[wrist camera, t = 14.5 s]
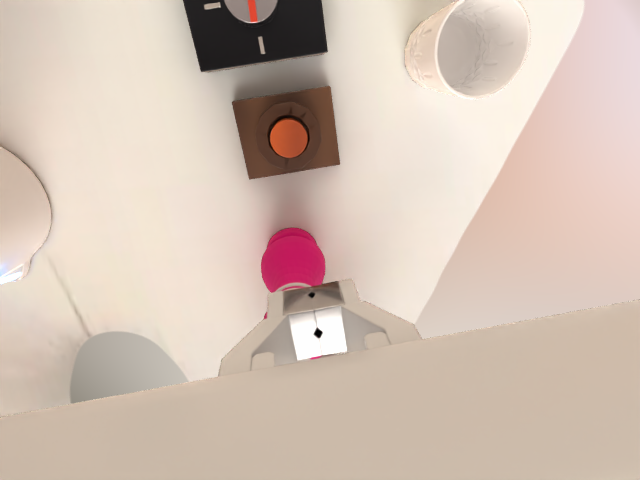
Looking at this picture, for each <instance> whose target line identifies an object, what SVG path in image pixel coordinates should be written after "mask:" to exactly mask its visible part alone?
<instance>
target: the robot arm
mask: <svg viewBox="0 0 640 480" xmlns="http://www.w3.org/2000/svg"><path fill="white" fill-rule="evenodd" d="M50 227H51V208H50V204H49V200H48V197H47V195H46V192H45V190H44V188H43V186H42V185H41V183H40V182H39V180H38V179H37V177H36V176H35V175H34V173H33V172H32V171H31V170H30V169H29V168H28V167H27V166H26V165H25V164H24V163H23V162H22V161H21V160H20V159H19V158H17V157H16V156H15V155H13V154H12V153H10V152H9V151H7V150H6V149H4V148H2V147H1V146H0V284H2V283H5V282H15V281H18V280H20V279H22V278H24V277H25V276H26V275H27V273H28V270H29V266H30V261H31V258H32V256H33V255H34V253H35V252H36V251H37V250H38V249H39V248H40V247H41V246H42V244H43V243H44V242H45V240H46V238H47V236H48V234H49V231H50ZM346 351H347V353H345V354H340V355H334V356H329V357H323V358H318V359H312V360H307V361H302V362H298V360H302V359H307V358H311V357H316V356H321V355H327V354H333V353H340V352H346ZM0 480H640V299H639V300H633V301H628V302H622V303H617V304H612V305H606V306H601V307H595V308H590V309H584V310H579V311H574V312H568V313H563V314H557V315H552V316H546V317H541V318H536V319H530V320H525V321H519V322H514V323H508V324H503V325H497V326H492V327H486V328H481V329H476V330H470V331H465V332H459V333H454V334H449V335H443V336H438V337H432V338H427V339H422V338H421V336H420V334H419V332H418V331H417V329H416V327H415V325H414V324H412V323H410V322H408V321H406V320H403V319H401V318H399V317H397V316H395V315H393V314H391V313H389V312H387V311H385V310H382V309H380V308H378V307H376V306H374V305H372V304H370V303H368V302H366V301H362V302H361V300H360V298H359V295H358V292H357V290H356V287H355V284H354V282H353V279H346V280H342V281H336V282H331V283H326V284H321V285H316V286H310V287H304V288H297V289H291V290H285V291H278V292H273V293H269V295H268V307H267V319H263V320H262V321H261V322H260V323H259V324H258V325H257V326H256V327H255V328H254V329H252V330H251V331H250V332H249V333H248V334H247V335H246V336H245V337H244V338H243V339H242V340H241V341H240V342H239V343H238V344H237V345H236V346H235V347H234V348H233V349H232V350H231V351H230V352H229V353H228V354H227V355H226V356H225V357H224V358H223V359H222V360H221V365H220V369H219V374H218V377H214V378H209V379H203V380H198V381H193V382H187V383H182V384H176V385H171V386H166V387H160V388H155V389H149V390H144V391H139V392H133V393H128V394H122V395H117V396H112V397H106V398H101V399H95V400H90V401H84V402H79V403H73V404H68V405H62V406H57V407H51V408H46V409H40V410H35V411H29V412H24V413H19V414H13V415H8V416H2V417H0Z"/></svg>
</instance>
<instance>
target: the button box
mask: <svg viewBox="0 0 640 480" xmlns="http://www.w3.org/2000/svg"><path fill="white" fill-rule="evenodd" d="M232 105H233V110H234V114H235V118H236V123H237V127H238V132H239V136H240V140H241V145H242V149H243V154H244V158H245V163H246V167H247V171H248V176H249V179H256V178H262V177H268V176H274V175H280V174H286V173H292V172H298V171H304V170H310V169H316V168H322V167H328V166H334V165H340V160H339V152H338V144H337V136H336V128H335V119H334V111H333V103H332V95H331V87H330V86H325V87H318V88H312V89H306V90H300V91H293V92H287V93H281V94H275V95H268V96H262V97H256V98H250V99H243V100H237V101H233V102H232ZM284 118H293V119H295V120H297V121H299V122H300V123H301V124H302V125H303V127H304V128H305V130H306V133H307V145H306V147H305V149H304V151H303V152H302V153H301V154H299V155H298V156H296V157H292V158H287V157H283V156H280V155H279V154H278V153H276V152H275V151H274V149H273V147H272V145H271V142H270V135H271V130H272V128H273V126H274V125H275V123H276V122H278V121H279V120H281V119H284Z"/></svg>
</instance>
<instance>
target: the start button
mask: <svg viewBox="0 0 640 480" xmlns="http://www.w3.org/2000/svg"><path fill="white" fill-rule="evenodd" d="M270 142H271V145H272V147H273V149H274V151H275V152H276V153H278V154H279V155H280V156H283V157H287V158H292V157H296V156H298V155H299V154H301V153H302V152H303V151H304V149H305V147H306V145H307V133H306V130H305V128H304V127H303V125H302V124H301V123H300V122H299V121H297V120H295V119H293V118H284V119H281V120H279V121H278V122H276V123H275V125H274V126H273V128H272V130H271V135H270Z"/></svg>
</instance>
